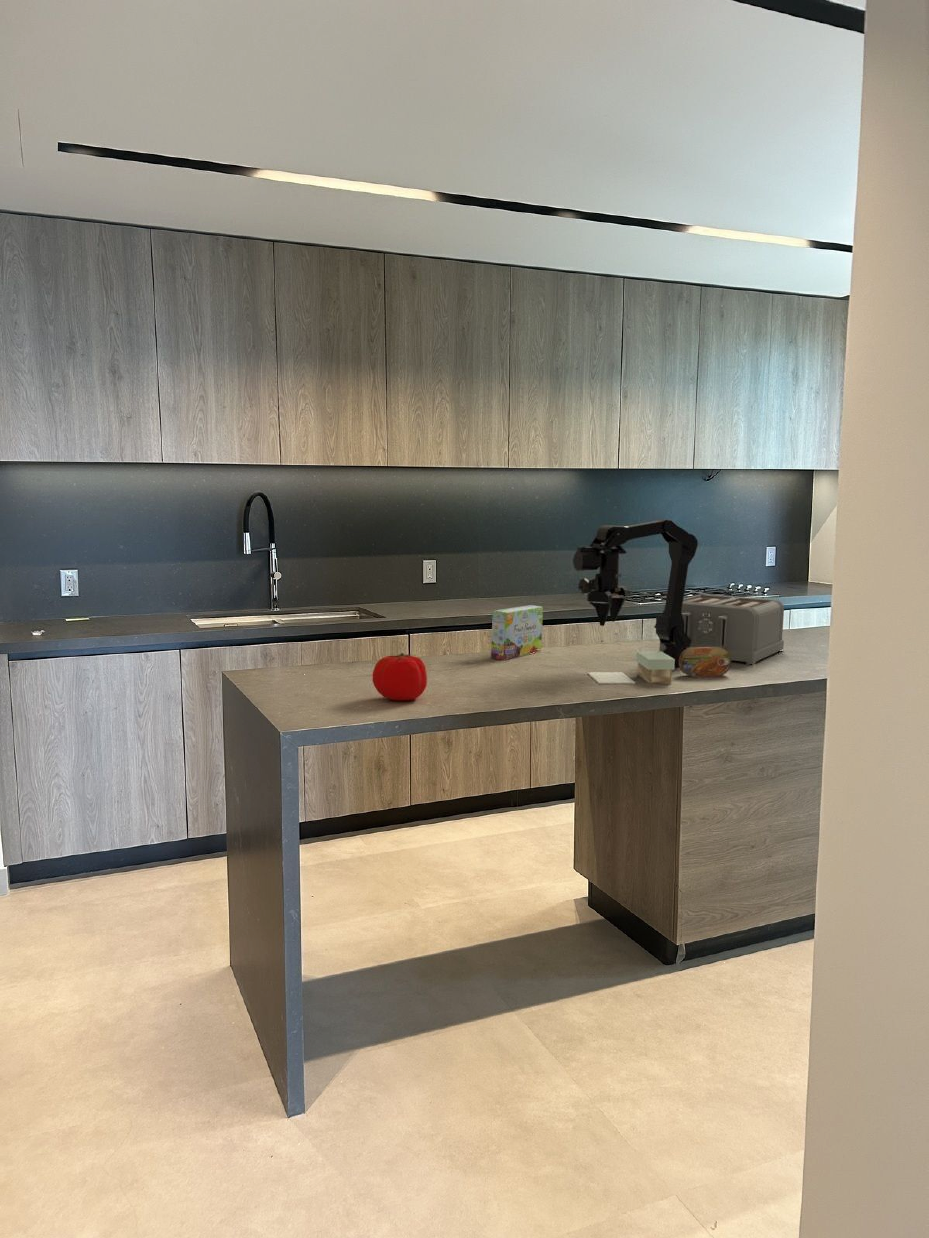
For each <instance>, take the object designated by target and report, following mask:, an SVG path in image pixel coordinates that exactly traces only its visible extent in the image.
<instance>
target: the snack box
mask: <svg viewBox="0 0 929 1238" xmlns="http://www.w3.org/2000/svg"><path fill="white" fill-rule="evenodd" d="M543 615H544V607H543V606H539V605H532V604H531V605H522V606H514V607H509V608H502V609H497V610H496V609H495V610H492V619H491V620H492V624H491V625H492V626H491V645H490V647H491V648H490V658H491V659H494V658H495V659H494V660H499V661H505V660H510V658H511V659H514V658H513V657H515V658H519V656H520V657H523V656H522V655H525V656H527V655H526V654H529V655H531V654H530V653H533V652H538V651H541V652H542V639H543V621H544V619H543V617H544V616H543ZM537 649H541V650H537ZM538 653H539V652H538Z"/></svg>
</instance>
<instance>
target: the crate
mask: <svg viewBox="0 0 929 1238" xmlns="http://www.w3.org/2000/svg"><path fill="white" fill-rule="evenodd" d="M672 674H673V670H648V669H647V668H645V667H644V666H642V665H641V664H640V663H638V662H637V676H638V677H639V678H641V679H642V680H644V681H645V682H646V681H647V682H646V683H647V684H649V685H659V684H660V685H670V684H672V677H673V675H672Z"/></svg>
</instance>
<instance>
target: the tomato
mask: <svg viewBox="0 0 929 1238" xmlns="http://www.w3.org/2000/svg"><path fill="white" fill-rule="evenodd" d="M371 680H372V683H373V686H374V688H375V689H376V691H377V693H378V694H380V695H381V696H382V697H383V698H386V699H389V700H392V701H401V702H402V701H410V700H411V701H412V700H416V699H418V698H419V697H421V695H422V694H423V693H424V692H425V690H426V688H427V683H428V676H427V670H426V665H425V663H424V662H423V660H422V659H421V658H419V657H417V656H416V655H415V654H414V655H410V654H406V653H403V652H400V653H399V654H397V655H387V656H385V657H382V658H381V659H379V660H377V662H376V664H375V665H374V668H373V671H372V679H371Z"/></svg>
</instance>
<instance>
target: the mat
mask: <svg viewBox="0 0 929 1238" xmlns="http://www.w3.org/2000/svg"><path fill="white" fill-rule="evenodd" d="M588 674H589V675H588ZM587 675H588V676H590V677H591V678H592V679H593V681H595V682H596V683H597V684H598V685H635V684H636V681H635V680H633V679H632V678H630V677H629V676H628V675H626V674H625V673H624V672H621V671H620V672H619V671H615V672H609V671H608V672H607V671H606V672H598V671H597V672H593V671H592V672H591V671H590V672H587Z"/></svg>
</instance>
